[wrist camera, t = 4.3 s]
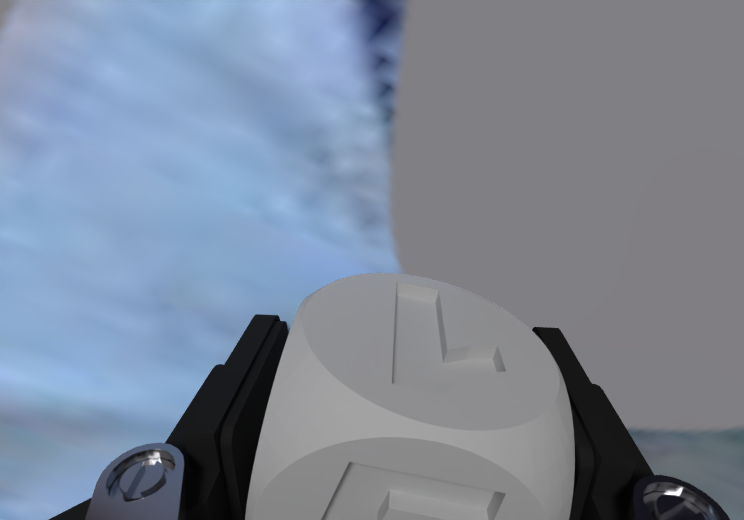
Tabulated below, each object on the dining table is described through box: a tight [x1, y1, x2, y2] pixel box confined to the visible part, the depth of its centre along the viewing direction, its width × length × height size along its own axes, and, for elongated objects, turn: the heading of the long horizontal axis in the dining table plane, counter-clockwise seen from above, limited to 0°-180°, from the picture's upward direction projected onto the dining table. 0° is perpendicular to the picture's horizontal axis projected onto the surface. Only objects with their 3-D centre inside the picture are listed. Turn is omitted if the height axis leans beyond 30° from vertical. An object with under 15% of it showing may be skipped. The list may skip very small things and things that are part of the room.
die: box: [245, 273, 575, 520], centre depth 9 cm, size 5×5×5 cm
